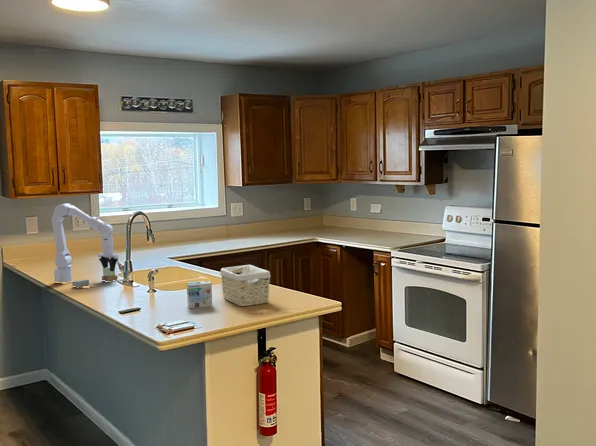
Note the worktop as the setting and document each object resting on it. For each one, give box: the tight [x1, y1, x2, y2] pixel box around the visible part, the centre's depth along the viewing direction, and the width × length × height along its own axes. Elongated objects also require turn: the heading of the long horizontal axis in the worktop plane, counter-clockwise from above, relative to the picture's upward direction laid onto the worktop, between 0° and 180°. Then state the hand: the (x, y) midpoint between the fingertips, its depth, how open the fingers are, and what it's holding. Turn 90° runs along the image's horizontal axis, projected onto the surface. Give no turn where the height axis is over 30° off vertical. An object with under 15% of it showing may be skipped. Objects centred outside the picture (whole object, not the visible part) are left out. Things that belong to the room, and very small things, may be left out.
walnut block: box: [101, 274, 119, 281], centre depth 325 cm, size 6×6×4 cm
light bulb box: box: [186, 280, 213, 309], centre depth 262 cm, size 11×7×11 cm, turn 106°
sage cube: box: [102, 266, 116, 276], centre depth 325 cm, size 4×4×4 cm
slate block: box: [71, 279, 90, 287], centre depth 311 cm, size 6×6×4 cm
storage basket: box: [220, 264, 271, 307], centre depth 270 cm, size 24×16×15 cm
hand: (109, 270), depth 325 cm, fingers open, 5 cm apart
